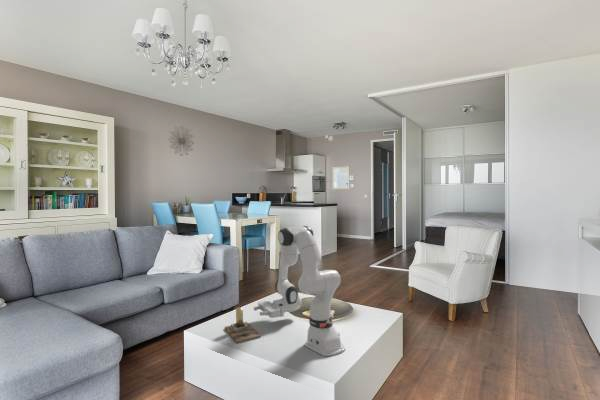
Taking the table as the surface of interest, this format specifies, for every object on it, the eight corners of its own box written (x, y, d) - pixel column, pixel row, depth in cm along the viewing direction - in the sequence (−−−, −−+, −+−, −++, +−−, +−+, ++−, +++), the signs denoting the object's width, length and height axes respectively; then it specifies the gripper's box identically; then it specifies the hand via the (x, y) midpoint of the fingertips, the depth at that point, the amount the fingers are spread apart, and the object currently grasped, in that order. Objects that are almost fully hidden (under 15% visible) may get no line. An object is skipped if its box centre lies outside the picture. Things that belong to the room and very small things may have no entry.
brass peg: (244, 329, 199) (243, 309, 199) (237, 330, 197) (237, 310, 197) (241, 326, 203) (241, 306, 202) (235, 328, 201) (235, 308, 200)
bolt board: (260, 337, 191) (260, 331, 190) (236, 343, 184) (236, 337, 184) (246, 323, 210) (246, 318, 210) (224, 328, 203) (224, 323, 203)
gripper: (270, 297, 221) (250, 301, 214) (284, 307, 203) (263, 311, 196) (270, 307, 221) (250, 311, 214) (284, 317, 203) (263, 322, 197)
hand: (257, 311), depth 205 cm, fingers open, 8 cm apart
